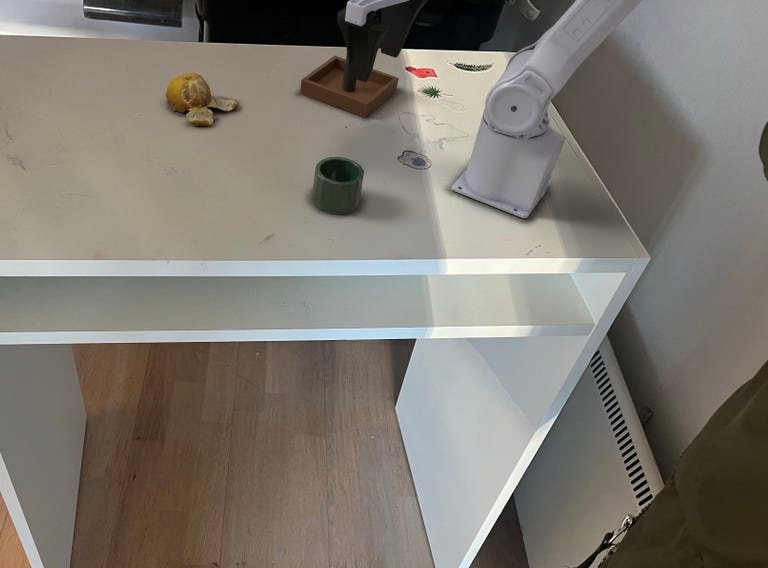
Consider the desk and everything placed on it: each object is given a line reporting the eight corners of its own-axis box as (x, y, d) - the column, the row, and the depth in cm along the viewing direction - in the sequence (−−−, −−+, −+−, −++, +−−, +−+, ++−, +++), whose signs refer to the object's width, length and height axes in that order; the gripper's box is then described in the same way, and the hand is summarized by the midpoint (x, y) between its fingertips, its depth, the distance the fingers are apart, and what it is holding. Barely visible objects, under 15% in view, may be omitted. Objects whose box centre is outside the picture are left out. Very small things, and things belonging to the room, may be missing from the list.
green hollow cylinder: (367, 197, 87) (372, 168, 84) (344, 220, 84) (349, 190, 81) (327, 180, 89) (330, 151, 86) (303, 202, 86) (306, 172, 83)
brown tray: (396, 91, 105) (398, 77, 103) (365, 118, 99) (367, 104, 98) (333, 68, 108) (334, 55, 106) (299, 93, 102) (301, 79, 101)
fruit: (201, 131, 94) (200, 104, 91) (150, 108, 97) (149, 81, 94) (240, 106, 99) (241, 79, 96) (191, 85, 102) (191, 59, 99)
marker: (357, 88, 104) (366, 30, 98) (351, 93, 102) (359, 35, 96) (345, 84, 104) (353, 26, 98) (339, 89, 103) (346, 31, 97)
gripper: (392, -88, 83) (373, 34, 93) (326, -53, 74) (313, 78, 84) (450, -72, 80) (424, 52, 90) (389, -34, 72) (368, 99, 82)
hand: (374, 66), depth 87 cm, fingers open, 7 cm apart
